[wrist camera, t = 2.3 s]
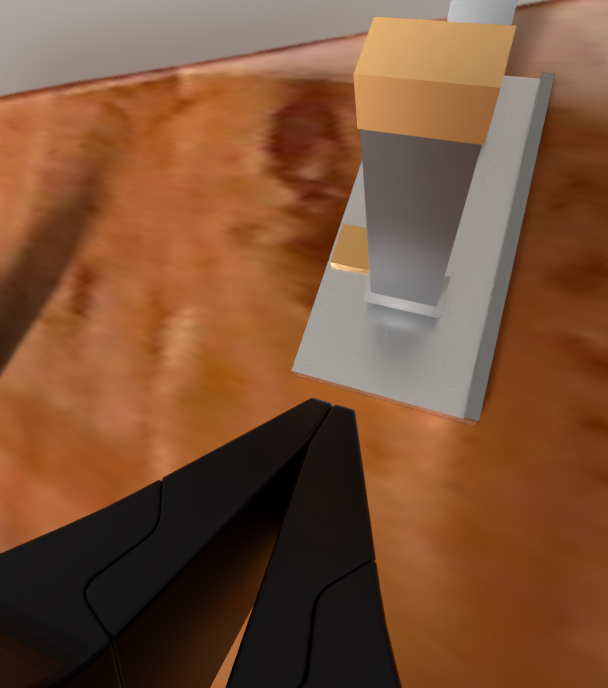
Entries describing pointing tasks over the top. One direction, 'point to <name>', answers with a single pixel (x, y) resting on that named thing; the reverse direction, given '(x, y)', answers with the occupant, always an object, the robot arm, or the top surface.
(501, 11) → the paddle
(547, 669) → the top surface
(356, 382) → the switch console
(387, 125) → the paddle
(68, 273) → the top surface
